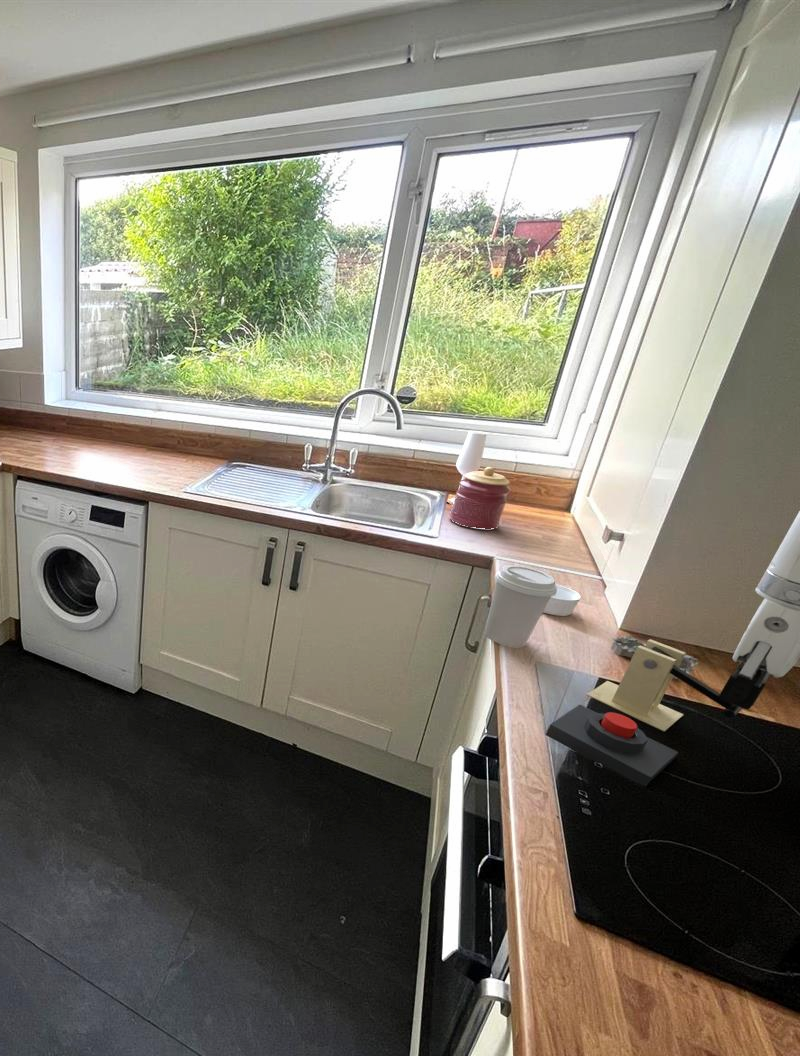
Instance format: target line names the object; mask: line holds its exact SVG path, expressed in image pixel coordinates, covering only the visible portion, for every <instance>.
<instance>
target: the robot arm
mask: <svg viewBox="0 0 800 1056" xmlns="http://www.w3.org/2000/svg"><path fill="white" fill-rule="evenodd" d="M754 592H755V593H756V594H757V595H758V596H761V597H762V598H763V600H762V601H761V604H760V605H759V606H758V608H757V609H756V611H755V613H754V615H753V617H752V619H751V620H750V622H749V623H748V625H747V627H746V629H745V631H744V633H743V634H742V637H741V639H740V640H739V643H738V645H737V646H736V648H735V650H734V653H733V655H732V658H731V659H732V660H733V662H734V663H738V662H739V663H738V665H737V666H736V669H735V670H734V672H733V673H732V674H730V676H729V677H728V679H727V681H726V683H725V685H724V686H723V688H722V690H721V692H720V695H719V698H720V699H722V700H724V701H727V702H729V703H731V704H734V705H736V706H739V707H741V708H743V709H742V710H750V709H751V708H752V707H753V706H754V704H755V703H756V701H757V700H758V698H759V696H760V695H761V694H762V691H763V690H764V688H765V687H766V684H765V683H766V682H767V680H768V678H769V677H770V675H773V676H772V678H775V679H777V678H778V679H779V678H783V677H784V676H785V675H786V674H787V673H788V672H790V670H792V668H793V667H794V666H795V665H796V664H797V663H798V661H799V659H800V510H799V511H798V513H797V515H796V517H795V518H794V520H793V522H792V524H791V525H790V527H789V529H788V531H787V533H786V534H785V536H784V538H783V539H782V542H781V543H780V545H779V547H778V549H777V550H776V552H775V554H774V556H773V558H772V559H771V561H770V563H769V565H768V567H767V568H766V570H765V571H764V573H763V575H762V577H761V579H760V581H759V582H758V584H757V586H756V587H755V590H754Z"/></svg>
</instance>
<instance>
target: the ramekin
mask: <svg viewBox="0 0 800 1056" xmlns="http://www.w3.org/2000/svg"><path fill="white" fill-rule="evenodd" d="M555 585H556V588H557V593H556V594H555V595H553V596H551V598H550V600H549V601H548V603H547V605H546V607H545V609H544V611H543V612H542V614H543V613H544V614H547V615H550V616H557V617H567V616H570V615H571V614H572V613H573V612H574V610H575V608H576V606H577V604H578V603H579V602H580V600H581V599H582V596H581V594H580V593H578V592H577V591H575V590H574V589H572V588H570V587H567V586H564V585H561V584H559V583H555Z"/></svg>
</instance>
